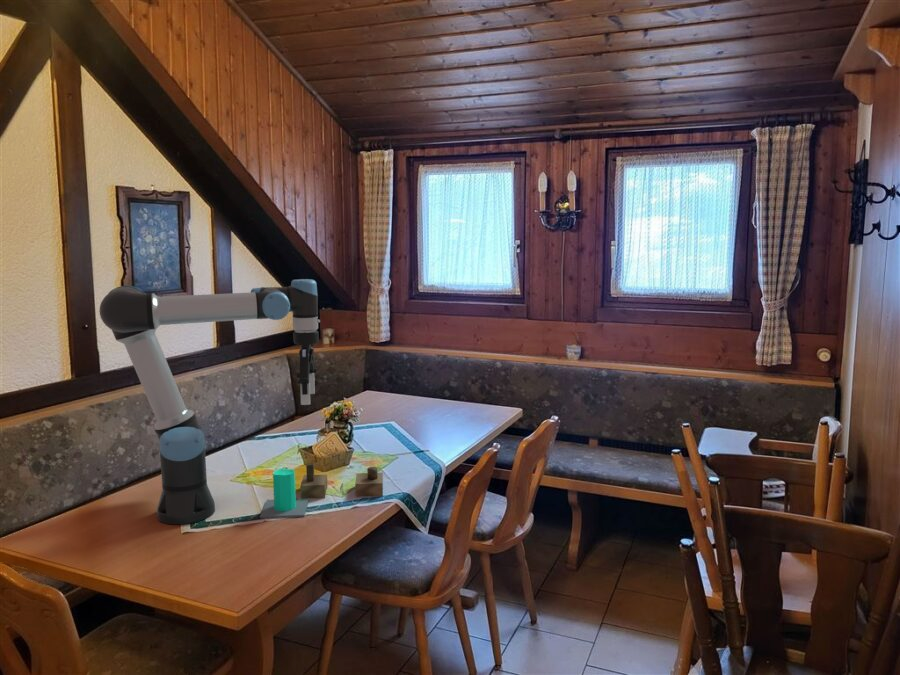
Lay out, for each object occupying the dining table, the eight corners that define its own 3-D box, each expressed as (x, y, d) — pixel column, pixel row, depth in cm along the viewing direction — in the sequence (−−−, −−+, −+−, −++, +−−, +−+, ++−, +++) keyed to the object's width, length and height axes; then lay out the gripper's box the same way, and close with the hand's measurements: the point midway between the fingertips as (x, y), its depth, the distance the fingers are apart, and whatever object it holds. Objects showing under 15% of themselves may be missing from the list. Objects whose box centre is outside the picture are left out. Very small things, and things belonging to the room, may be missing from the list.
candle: (290, 512, 201) (289, 470, 199) (270, 510, 202) (269, 469, 200) (299, 503, 207) (297, 463, 205) (279, 502, 208) (278, 462, 206)
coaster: (260, 518, 198) (260, 516, 198) (267, 501, 210) (267, 499, 210) (304, 516, 199) (304, 514, 199) (308, 500, 211) (308, 498, 211)
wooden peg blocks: (300, 498, 212) (299, 469, 211) (304, 487, 221) (303, 459, 219) (382, 496, 214) (382, 467, 213) (382, 485, 223) (382, 457, 222)
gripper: (314, 337, 206) (316, 409, 209) (322, 324, 230) (324, 389, 234) (287, 337, 205) (290, 409, 209) (298, 324, 230) (300, 389, 233)
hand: (308, 399), depth 221 cm, fingers open, 13 cm apart
